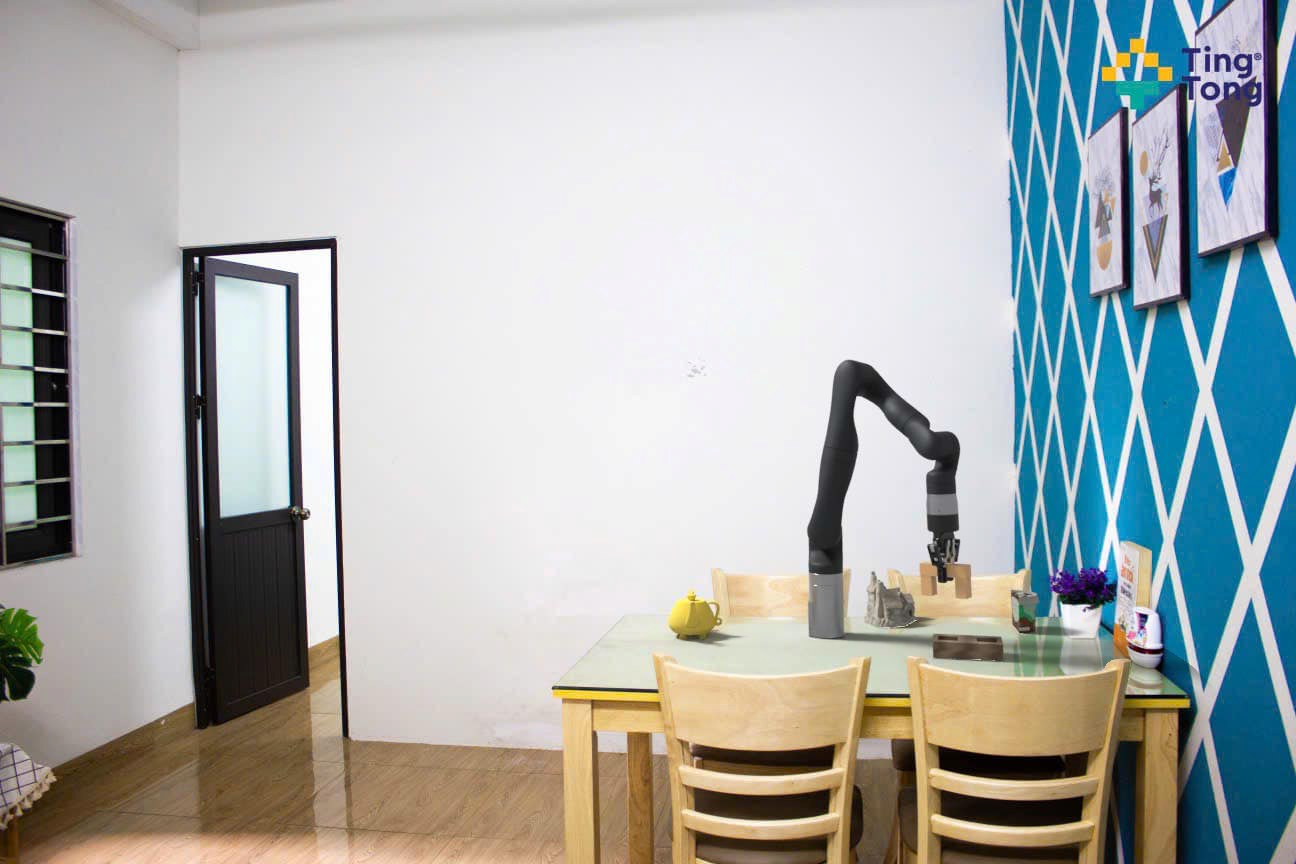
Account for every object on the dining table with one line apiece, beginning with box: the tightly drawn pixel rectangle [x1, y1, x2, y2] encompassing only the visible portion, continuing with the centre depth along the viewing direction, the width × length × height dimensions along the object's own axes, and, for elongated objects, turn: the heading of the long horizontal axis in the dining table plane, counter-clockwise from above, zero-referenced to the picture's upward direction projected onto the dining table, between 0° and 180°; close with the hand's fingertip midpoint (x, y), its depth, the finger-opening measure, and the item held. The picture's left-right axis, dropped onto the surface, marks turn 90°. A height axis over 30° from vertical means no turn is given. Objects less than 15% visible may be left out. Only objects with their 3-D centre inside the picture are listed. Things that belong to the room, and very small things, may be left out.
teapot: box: [668, 588, 723, 640], centre depth 255 cm, size 20×15×12 cm
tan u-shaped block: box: [919, 561, 973, 600], centre depth 228 cm, size 12×3×8 cm, turn 46°
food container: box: [1010, 589, 1040, 634], centre depth 252 cm, size 12×6×10 cm, turn 168°
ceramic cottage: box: [863, 570, 918, 628], centre depth 267 cm, size 16×16×15 cm
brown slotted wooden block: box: [932, 633, 1004, 662], centre depth 226 cm, size 16×9×4 cm, turn 72°
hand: (945, 581), depth 228 cm, fingers closed on tan u-shaped block, 3 cm apart
